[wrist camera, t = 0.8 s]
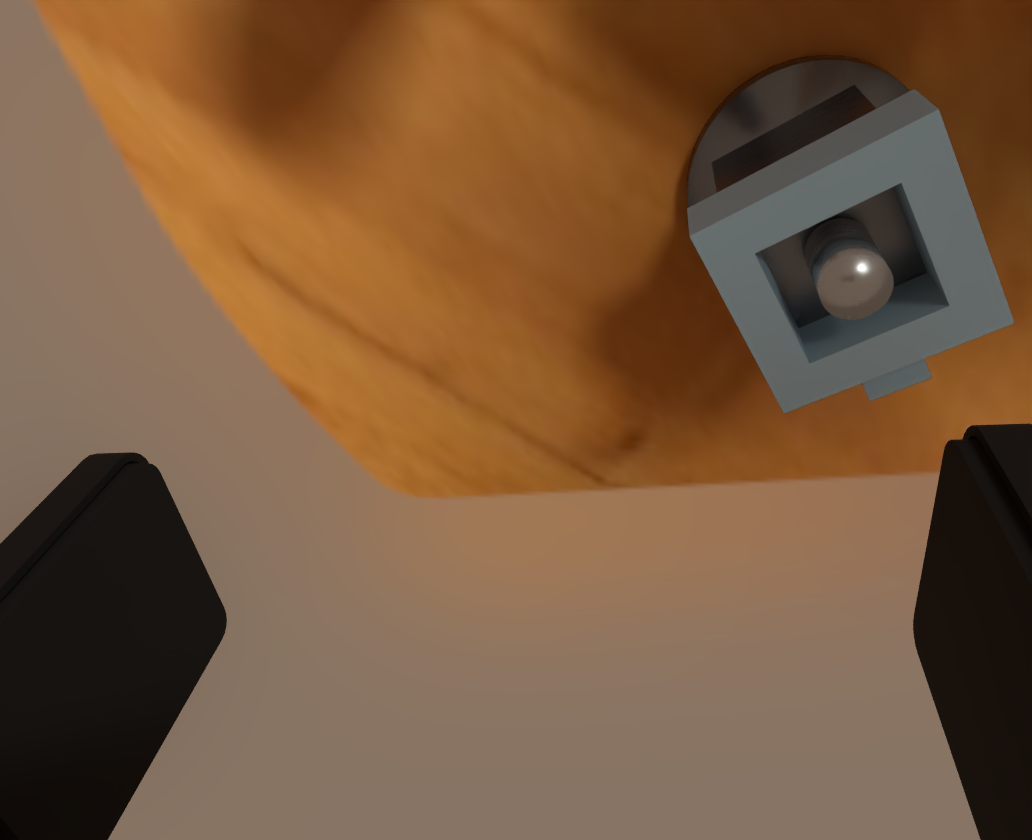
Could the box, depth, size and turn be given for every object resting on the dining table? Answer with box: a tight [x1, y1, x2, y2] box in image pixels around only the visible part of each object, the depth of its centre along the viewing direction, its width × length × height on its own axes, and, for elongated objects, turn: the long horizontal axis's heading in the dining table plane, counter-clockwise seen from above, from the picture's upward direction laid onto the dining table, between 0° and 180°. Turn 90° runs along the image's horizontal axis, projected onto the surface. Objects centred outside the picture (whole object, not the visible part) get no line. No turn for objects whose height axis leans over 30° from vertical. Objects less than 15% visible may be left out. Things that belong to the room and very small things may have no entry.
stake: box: [687, 55, 927, 328], centre depth 27 cm, size 9×9×10 cm
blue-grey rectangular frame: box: [687, 89, 1014, 414], centre depth 25 cm, size 7×9×2 cm
